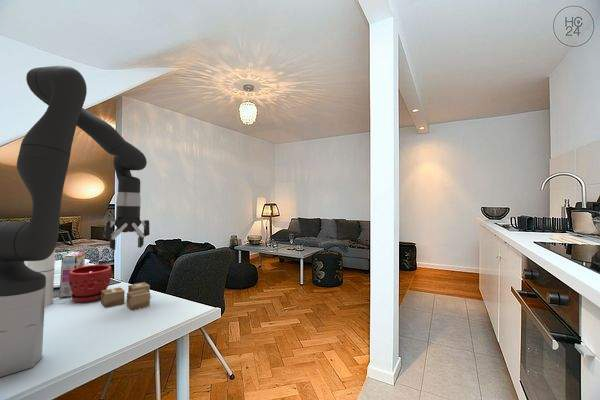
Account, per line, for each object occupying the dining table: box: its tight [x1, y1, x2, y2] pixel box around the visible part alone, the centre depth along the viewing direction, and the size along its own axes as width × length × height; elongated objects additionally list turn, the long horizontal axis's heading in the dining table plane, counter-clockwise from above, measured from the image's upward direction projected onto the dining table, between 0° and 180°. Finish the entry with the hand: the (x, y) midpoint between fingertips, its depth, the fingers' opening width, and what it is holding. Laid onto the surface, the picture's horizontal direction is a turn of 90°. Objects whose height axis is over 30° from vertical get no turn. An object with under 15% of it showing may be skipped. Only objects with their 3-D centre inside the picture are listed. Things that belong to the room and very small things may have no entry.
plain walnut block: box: [125, 289, 151, 311], centre depth 97 cm, size 6×6×5 cm
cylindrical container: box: [26, 249, 56, 307], centre depth 96 cm, size 7×7×25 cm
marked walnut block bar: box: [100, 286, 125, 309], centre depth 99 cm, size 6×6×5 cm
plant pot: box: [69, 264, 112, 303], centre depth 104 cm, size 13×13×12 cm
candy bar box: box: [58, 251, 86, 299], centre depth 109 cm, size 11×5×16 cm, turn 25°
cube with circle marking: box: [127, 281, 151, 293], centre depth 106 cm, size 6×6×5 cm
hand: (126, 248), depth 97 cm, fingers open, 8 cm apart
